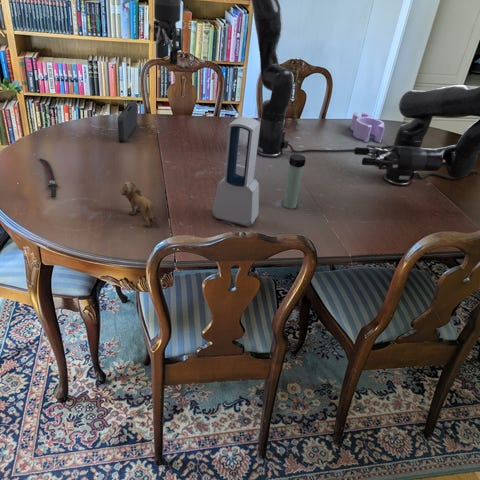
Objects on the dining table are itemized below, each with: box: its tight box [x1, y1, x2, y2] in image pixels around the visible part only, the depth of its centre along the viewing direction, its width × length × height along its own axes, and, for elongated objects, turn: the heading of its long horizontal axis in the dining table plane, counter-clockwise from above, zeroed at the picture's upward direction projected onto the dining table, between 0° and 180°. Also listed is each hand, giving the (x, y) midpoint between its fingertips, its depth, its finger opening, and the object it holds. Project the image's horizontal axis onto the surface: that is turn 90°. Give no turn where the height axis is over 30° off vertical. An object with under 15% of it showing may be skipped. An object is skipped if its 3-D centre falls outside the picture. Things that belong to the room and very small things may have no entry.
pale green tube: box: [282, 164, 304, 210], centre depth 146 cm, size 4×4×16 cm
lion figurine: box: [119, 181, 159, 227], centre depth 134 cm, size 15×5×9 cm, turn 50°
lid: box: [288, 153, 307, 168], centre depth 142 cm, size 5×5×2 cm
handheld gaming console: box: [117, 100, 138, 142], centre depth 188 cm, size 23×3×10 cm, turn 178°
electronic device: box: [211, 116, 261, 227], centre depth 132 cm, size 12×8×30 cm, turn 71°
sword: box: [40, 158, 59, 198], centre depth 151 cm, size 31×3×1 cm, turn 26°
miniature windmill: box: [285, 57, 302, 131], centre depth 208 cm, size 9×8×30 cm
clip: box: [349, 112, 386, 143], centre depth 214 cm, size 20×12×7 cm, turn 11°
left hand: (167, 61), depth 143 cm, fingers open, 8 cm apart
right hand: (358, 155), depth 145 cm, fingers open, 8 cm apart
